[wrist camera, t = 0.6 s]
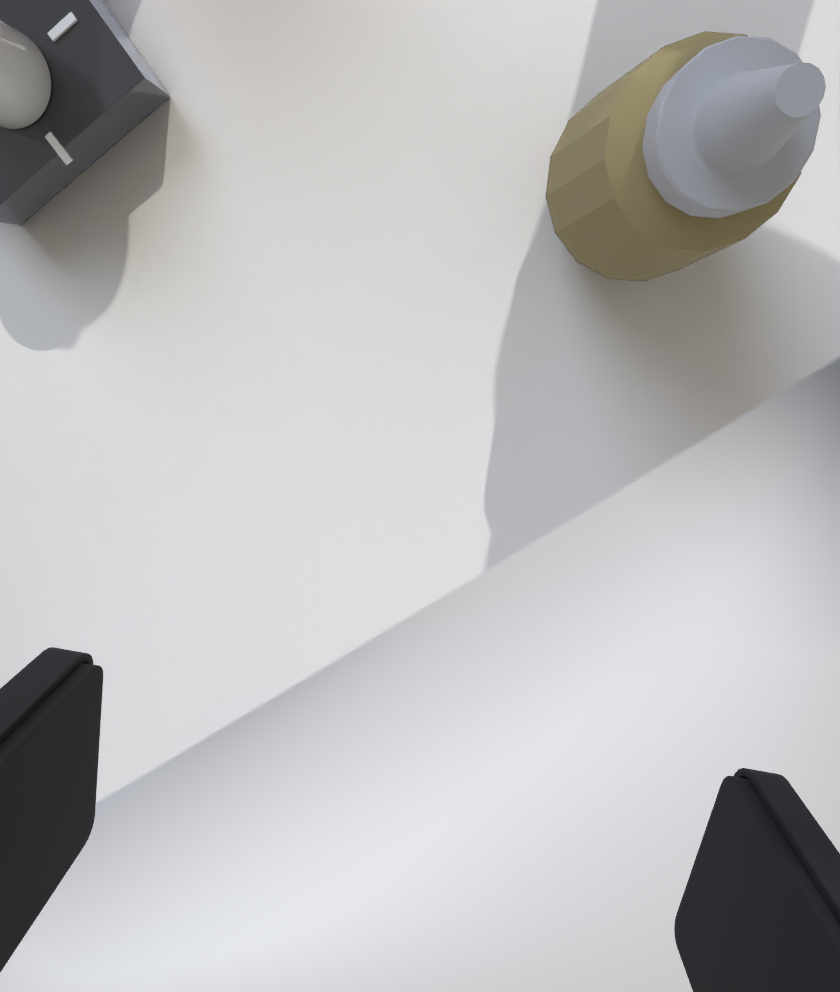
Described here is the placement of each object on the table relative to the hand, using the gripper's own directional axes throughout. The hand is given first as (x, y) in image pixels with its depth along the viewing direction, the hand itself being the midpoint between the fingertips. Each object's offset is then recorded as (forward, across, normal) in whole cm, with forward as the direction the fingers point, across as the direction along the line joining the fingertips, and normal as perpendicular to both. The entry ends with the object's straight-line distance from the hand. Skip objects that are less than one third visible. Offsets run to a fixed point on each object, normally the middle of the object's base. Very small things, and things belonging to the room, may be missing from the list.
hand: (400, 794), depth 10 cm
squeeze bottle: (+28, -7, -13) cm, 32 cm away
